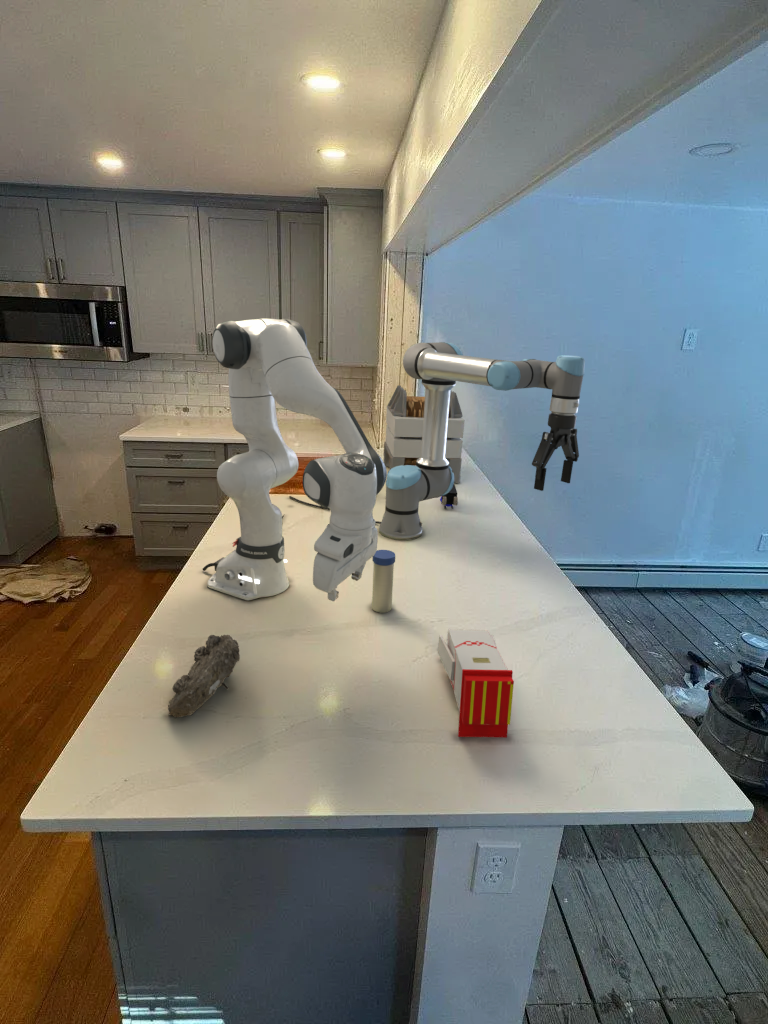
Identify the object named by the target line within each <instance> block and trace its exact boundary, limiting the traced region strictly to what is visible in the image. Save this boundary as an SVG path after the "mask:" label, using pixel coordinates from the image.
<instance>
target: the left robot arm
mask: <svg viewBox="0 0 768 1024" xmlns="http://www.w3.org/2000/svg"><path fill="white" fill-rule="evenodd" d="M212 349H213V354H214V357H215V359H216V361H217V362H218V363H219V364H220V365H221V367H223V368H226V369H228V374H227V376H228V396H229V404H230V414H231V421H232V427H233V429H234V430H235V431H236V432H237V433H239V434H240V435H242V436H243V437H244V438H245V440H246V442H247V445H248V451H246V452H242V453H238V454H235V455H233V456H232V457H230V458H228V459H227V460H225V461H224V462H221V464H220V465H219V466H218V469H217V471H216V481H217V484H218V487H219V489H220V490H221V491H222V493H223V494H224V495H225V496H227V497H228V498H230V499H231V500H232V501H233V502H234V504H235V507H236V508H237V509H236V510H237V512H238V516H239V517H238V518H239V526H240V527H239V529H240V536H239V537H237V538H236V539H235V541H233V542H232V548H235V549H234V550H232V551H231V552H230V553H228V554H227V555H225V556H224V557H221V558H219V559H217V560H216V561H214V562H210V563H208V564H206V565H205V566H203V568H202V571H203V572H205V571H206V570H207V569H209V568H211V567H214V572H215V573H213V574H212V575H211V576H210V577H209V578H208V580H207V587H208V588H209V589H211V590H214V591H217V592H221V593H223V594H227V595H230V596H232V597H235V598H238V599H240V600H241V599H242V600H243V601H244V600H245V601H253V600H255V599H258V598H268V597H272V596H276V595H279V594H281V593H283V592H285V591H286V590H287V589H288V588H289V586H290V581H289V578H288V575H287V571H286V570H287V569H286V566H285V563H286V564H287V563H288V560H287V559H284V558H285V538H284V536H283V518H282V516H283V513H282V510H281V509H280V508H279V507H278V506H277V505H276V504H274V503H272V500H271V497H270V491H271V489H273V488H276V487H279V486H281V485H283V484H285V483H287V482H288V481H289V480H291V479H293V477H295V475H296V474H297V473H298V470H299V466H300V465H299V460H298V456H297V454H296V452H295V451H294V449H292V447H290V446H289V445H288V444H287V443H286V442H285V440H284V438H283V436H282V433H281V430H280V427H279V424H278V417H277V408H276V407H277V406H276V404H278V405H279V406H281V407H282V408H283V409H286V410H287V411H289V412H293V413H296V414H301V415H305V416H308V417H309V416H310V417H313V418H316V419H318V420H321V421H323V422H324V423H326V424H327V425H329V426H330V427H331V429H332V431H333V432H334V434H335V435H336V438H337V439H338V441H339V443H340V444H341V446H342V448H343V450H344V451H345V453H342V454H339V455H331V456H324V457H319V458H315V459H311V460H310V461H309V462H308V463H307V464H306V466H305V467H304V471H303V474H302V489H303V492H304V494H305V496H306V497H307V498H308V499H309V500H311V501H312V502H313V503H315V504H316V505H318V506H322V507H325V508H329V509H330V510H329V511H330V514H329V521H328V524H327V525H326V527H325V529H324V530H323V531H322V533H321V534H320V536H319V537H318V538H317V539H316V540H315V542H314V545H313V551H314V552H315V553H316V554H315V556H314V561H313V567H312V568H313V569H312V584H313V586H314V588H316V589H317V590H319V591H321V592H324V593H327V600H329V601H331V602H335V601H336V600H337V599H338V598H339V594H340V591H339V590H337V588H338V586H339V585H340V584H342V583H343V582H344V581H345V580H346V579H348V577H351V579H352V580H353V581H356V582H358V581H359V580H360V579H362V575H363V571H364V569H365V567H366V564H367V562H368V561H369V560H371V558H373V556H374V555H375V553H376V551H377V550H378V540H379V530H378V528H377V527H376V524H377V523H376V521H377V520H375V518H374V516H373V511H374V509H375V506H376V500H377V495H378V494H380V493H381V491H382V490H383V488H384V486H385V485H386V480H387V474H388V471H387V466H385V464H384V459H382V457H381V456H380V455H379V453H378V452H377V451H376V450H375V449H374V447H373V446H372V444H371V443H370V441H369V440H368V439H369V438H367V436H366V434H365V433H364V431H363V429H362V427H361V425H360V424H359V422H358V420H357V418H356V416H355V415H354V413H353V412H352V409H351V408H350V406H349V405H348V403H347V401H346V400H345V398H344V396H343V395H342V394H341V392H340V391H339V390H338V389H336V388H335V387H333V386H332V385H331V384H329V383H328V382H327V381H326V380H325V378H324V377H323V376H322V375H321V373H320V372H319V370H318V368H317V367H316V365H315V362H314V360H313V357H312V355H311V353H310V350H309V348H308V339H307V335H306V331H305V329H304V328H303V326H302V325H301V323H300V322H298V321H296V320H293V319H289V318H282V319H279V318H268V317H267V318H266V317H265V318H264V317H263V318H261V317H260V318H259V317H258V318H256V319H255V318H253V319H243V320H238V321H234V320H227V321H224V322H221V323H218V324H217V326H215V329H214V330H213V332H212ZM235 546H236V547H235Z"/></svg>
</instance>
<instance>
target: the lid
mask: <svg viewBox="0 0 768 1024" xmlns="http://www.w3.org/2000/svg"><path fill="white" fill-rule="evenodd" d="M371 561H372V563H373V564H374V563H375V564H378V565H383V566H387V565H392V564H394V565H395V563H396V552H394V551H392V550H390V549H377V550H376V553H375V555H374V556H372V560H371Z"/></svg>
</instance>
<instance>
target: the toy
mask: <svg viewBox="0 0 768 1024" xmlns="http://www.w3.org/2000/svg"><path fill="white" fill-rule="evenodd" d="M446 640H447V643H446V641H445V639H444V636H443V635H442V634H439V637H438V646H437V656H438V657H439V659H440V661H441V663H442V666H443V668H444V670H445V672H446V674H447V677H448V679H449V681H450V684H451V687H452V690H453V693H454V697H455V701H456V705H457V708H458V711H459V714H458V715H459V716H458V730H457V731H458V732H457V737H458V738H508V731H509V726H510V725H511V717H512V707H513V697H514V696H513V695H514V684H515V680H514V679H513V673H514V671H513V670H512V669H508V667H507V665H506V662H505V661H504V659H503V658H502V655H501V653H500V651H499V649H498V647H497V643H496V639H495V637H494V635H493V634H491V632H490V631H489V629H467V628H466V629H465V628H463V629H461V628H460V629H459V628H448V630H447V639H446Z"/></svg>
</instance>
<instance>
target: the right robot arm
mask: <svg viewBox="0 0 768 1024" xmlns="http://www.w3.org/2000/svg"><path fill="white" fill-rule="evenodd" d="M585 365H586V360H585V358H584V357H582V356H578V355H566V354H565V355H564V354H563V355H558V356H557V357H556V360H555V361H549V360H541V359H536V358H524V359H521V360H506V359H505V360H504V359H503V360H502V359H496V358H487V357H479V356H471V355H464V354H463V352H462V350H461V349H460V347H459V346H457V345H456V344H455V343H451V342H445V341H443V342H442V341H441V342H440V341H439V342H438V341H437V342H417V343H414V344H412V345H411V346H409V347H408V348H407V350H406V351H405V353H404V355H403V358H402V366H403V369H404V372H405V373H406V374H407V375H408V376H409V377H411V378H412V379H415V380H421V385H422V386H423V387H424V389H425V392H424V397H425V404H424V419H423V434H422V449H421V457H420V458H418V459H417V461H416V466H413V465H401V466H396V467H394V468H392V469H390V468H389V470H388V471H387V477H386V481H385V504H384V505H385V507H384V508H385V509H384V513H383V515H382V519H381V521H379V520H378V521H377V520H375V521H376V523H375V524H379V526H378V533H379V534H380V535H381V536H382V537H385V538H387V539H389V540H395V541H410V540H415V539H418V538H420V537H421V536H422V535H423V522H422V521H421V518H420V515H419V507H420V506H419V505H420V502H423V501H427V500H431V499H437V498H441V496H443V495H445V494H447V493H448V492H449V491H450V490H451V489H452V487H453V484H455V483H454V473H452V469H451V467H450V466H449V462H448V461H447V459H446V458H445V453H446V441H447V428H448V416H449V404H450V392H451V391H452V389H453V388H454V387H455V386H456V384H457V382H461V383H465V384H473V385H479V386H487V387H491V388H492V389H494V390H496V391H503V392H504V391H511V390H520V389H532V388H533V389H534V388H539V389H546V390H551V398H550V404H549V413H548V418H547V419H548V420H547V426H548V427H549V428H550V431H549V432H548V431H543V432H542V435H541V440H540V442H539V445H538V447H537V449H536V452H535V454H534V457H533V460H532V461H531V466H533V467H535V475H534V477H535V478H534V485H533V489H534V490H537V491H539V492H543V491H544V489H545V484H546V483H545V482H546V476H547V468H546V466H547V465H548V463H549V461H550V459H551V457H552V456H553V454H554V453H555V451H556V450H557V449H558V448H560V447H561V449H562V452H563V455H564V458H565V459H563V463H562V468H561V469H562V470H561V475H560V482H562V483H566V484H571V478H572V472H573V466H574V463H576V462H578V461H579V457H580V453H579V444H578V428H576V423H577V419H578V416H577V414H578V412H579V411H578V410H579V406H580V397H581V391H582V385H583V380H584V376H585ZM288 498H289V499H291V500H293V501H294V502H295V501H296V502H297V503H301V504H303V505H306V506H310V507H314V508H317V509H318V508H319V509H323V510H327V511H328V510H329V511H330V509H329V508H325V507H322V506H320V505H318V504H314V503H309V502H306V501H303V500H300V499H298V498H296V497H294V496H292V495H289V496H288Z"/></svg>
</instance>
